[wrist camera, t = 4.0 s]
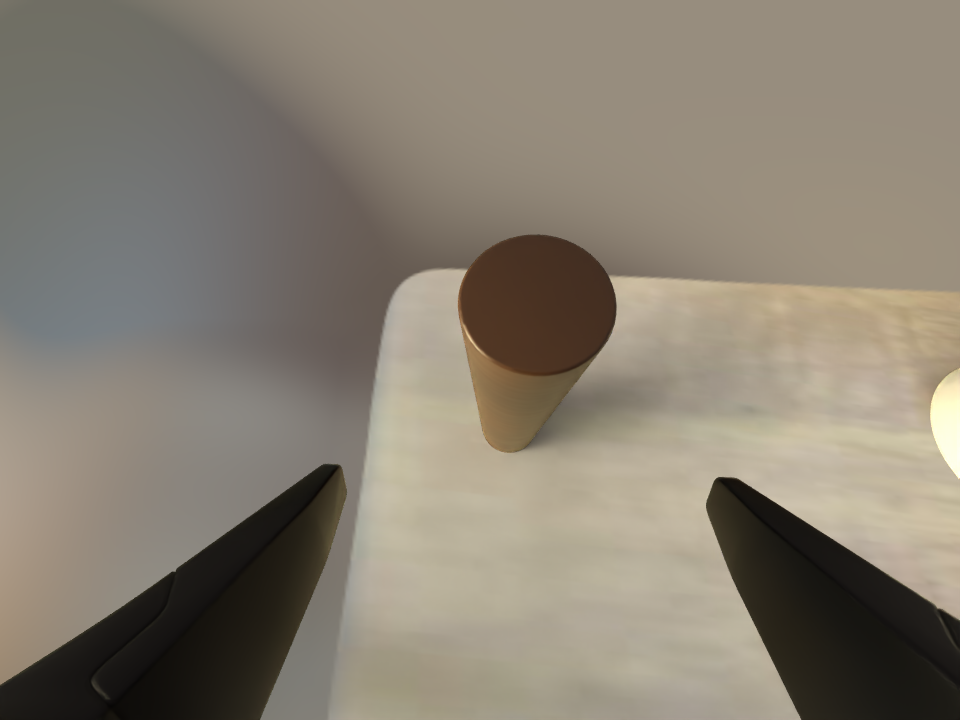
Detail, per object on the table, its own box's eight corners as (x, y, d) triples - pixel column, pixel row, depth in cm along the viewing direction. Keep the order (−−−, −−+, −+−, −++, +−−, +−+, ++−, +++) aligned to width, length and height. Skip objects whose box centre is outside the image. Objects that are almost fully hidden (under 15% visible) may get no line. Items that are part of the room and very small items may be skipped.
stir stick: (506, 464, 19) (534, 410, 6) (471, 423, 20) (425, 294, 7) (546, 428, 20) (652, 304, 6) (510, 389, 20) (538, 207, 7)
